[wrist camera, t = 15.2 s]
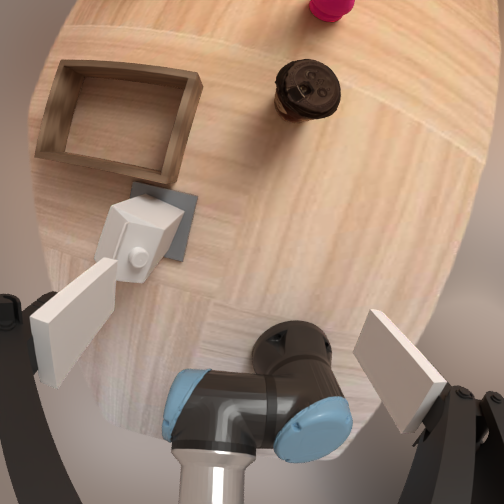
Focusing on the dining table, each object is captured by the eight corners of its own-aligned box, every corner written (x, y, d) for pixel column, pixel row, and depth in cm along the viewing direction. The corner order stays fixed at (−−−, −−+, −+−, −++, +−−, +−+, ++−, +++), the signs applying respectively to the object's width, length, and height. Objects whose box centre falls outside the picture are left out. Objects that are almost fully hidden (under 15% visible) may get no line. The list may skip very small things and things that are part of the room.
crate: (176, 181, 47) (165, 184, 40) (59, 156, 44) (34, 157, 37) (203, 87, 43) (197, 72, 36) (82, 71, 40) (60, 59, 33)
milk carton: (130, 232, 48) (79, 269, 30) (146, 193, 47) (96, 209, 28) (168, 250, 49) (134, 297, 31) (185, 210, 48) (156, 238, 30)
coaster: (183, 260, 51) (182, 261, 50) (122, 244, 49) (121, 245, 49) (198, 196, 48) (197, 196, 47) (134, 181, 47) (133, 181, 46)
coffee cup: (262, 124, 46) (272, 109, 33) (268, 76, 43) (280, 48, 31) (316, 133, 46) (343, 122, 34) (321, 86, 44) (348, 63, 32)
